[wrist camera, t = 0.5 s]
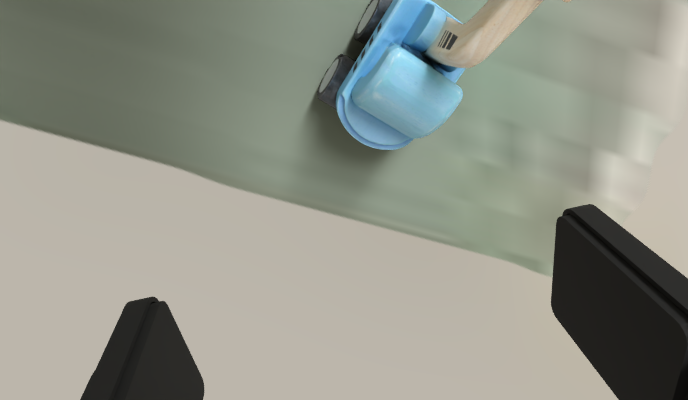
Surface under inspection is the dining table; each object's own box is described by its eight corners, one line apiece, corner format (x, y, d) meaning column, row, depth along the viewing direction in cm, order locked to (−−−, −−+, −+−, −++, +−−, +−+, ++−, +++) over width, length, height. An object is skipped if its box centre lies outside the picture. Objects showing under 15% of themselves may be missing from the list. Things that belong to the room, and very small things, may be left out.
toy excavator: (508, -27, 36) (670, -20, 21) (390, 143, 42) (450, 246, 27) (425, -97, 33) (544, -147, 18) (310, 96, 39) (327, 181, 24)
